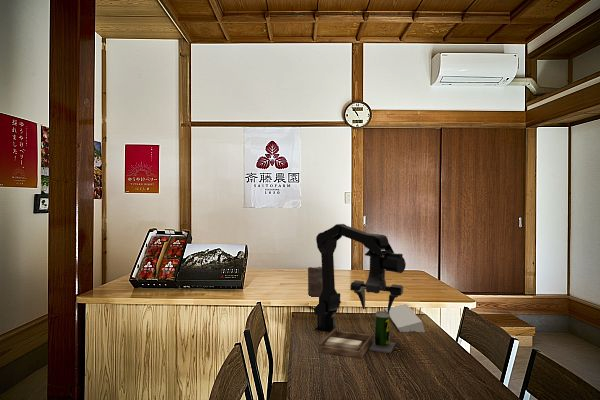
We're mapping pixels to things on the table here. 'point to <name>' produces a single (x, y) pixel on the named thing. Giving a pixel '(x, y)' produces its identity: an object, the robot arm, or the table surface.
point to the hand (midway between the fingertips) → (376, 310)
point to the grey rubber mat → (385, 350)
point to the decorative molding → (405, 319)
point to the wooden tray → (345, 352)
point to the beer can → (382, 329)
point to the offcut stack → (343, 343)
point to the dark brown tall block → (315, 281)
